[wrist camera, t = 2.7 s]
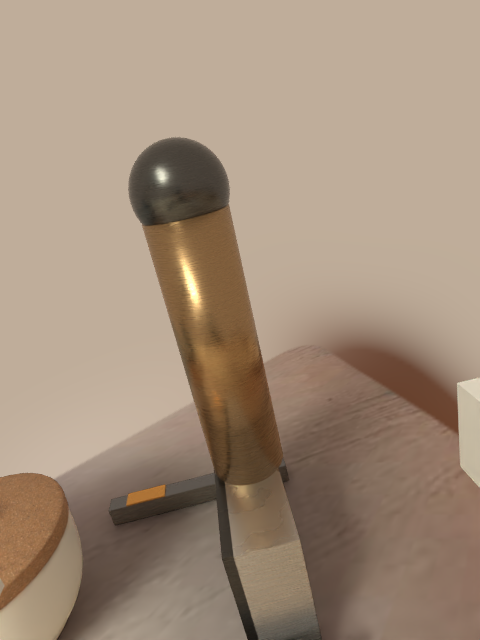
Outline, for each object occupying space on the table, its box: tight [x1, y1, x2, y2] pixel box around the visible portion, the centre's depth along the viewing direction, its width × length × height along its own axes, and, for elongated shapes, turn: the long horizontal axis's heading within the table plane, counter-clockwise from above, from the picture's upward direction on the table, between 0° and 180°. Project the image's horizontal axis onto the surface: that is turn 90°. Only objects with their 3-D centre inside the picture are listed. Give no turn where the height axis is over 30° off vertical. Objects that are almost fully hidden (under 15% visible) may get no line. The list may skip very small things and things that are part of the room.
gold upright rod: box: [128, 138, 322, 640], centre depth 22 cm, size 4×12×25 cm, turn 7°
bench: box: [109, 459, 289, 525], centre depth 25 cm, size 29×15×10 cm, turn 97°
